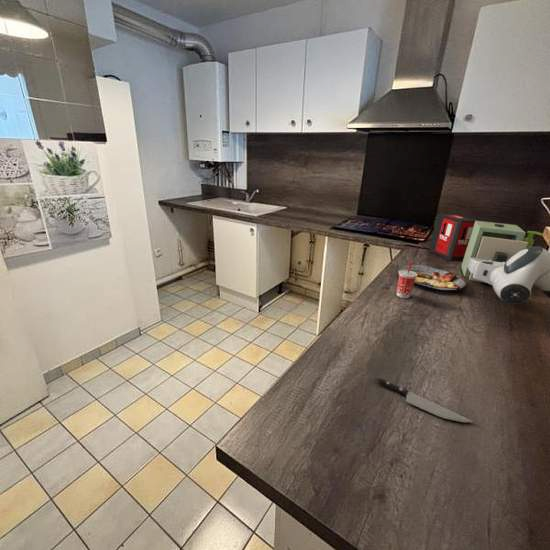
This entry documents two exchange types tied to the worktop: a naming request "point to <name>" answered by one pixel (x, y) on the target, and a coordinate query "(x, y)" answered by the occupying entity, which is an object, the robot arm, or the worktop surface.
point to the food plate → (436, 278)
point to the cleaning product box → (451, 236)
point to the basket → (497, 250)
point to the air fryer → (489, 231)
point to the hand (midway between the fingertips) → (497, 262)
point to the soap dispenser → (529, 238)
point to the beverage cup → (406, 282)
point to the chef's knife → (426, 404)
